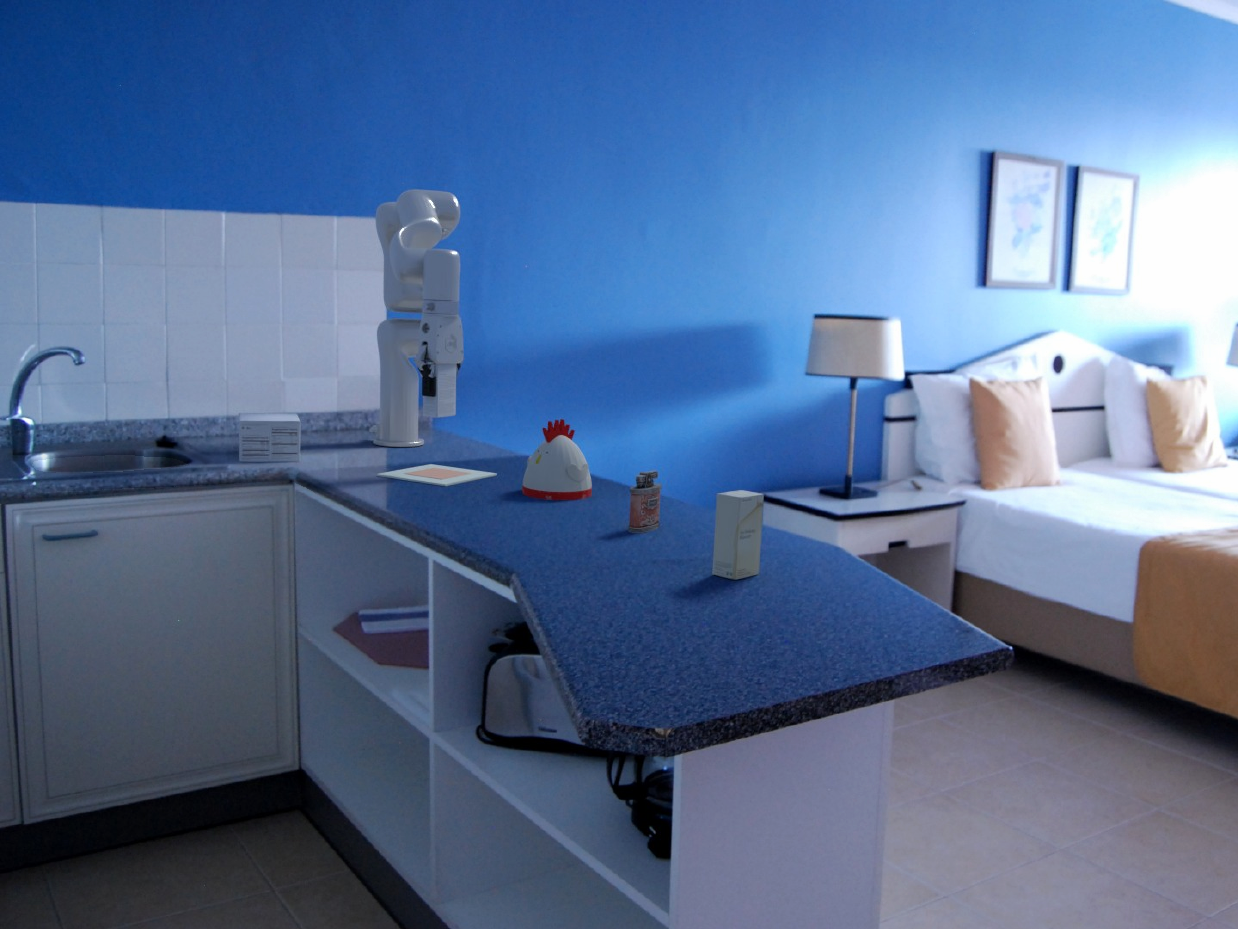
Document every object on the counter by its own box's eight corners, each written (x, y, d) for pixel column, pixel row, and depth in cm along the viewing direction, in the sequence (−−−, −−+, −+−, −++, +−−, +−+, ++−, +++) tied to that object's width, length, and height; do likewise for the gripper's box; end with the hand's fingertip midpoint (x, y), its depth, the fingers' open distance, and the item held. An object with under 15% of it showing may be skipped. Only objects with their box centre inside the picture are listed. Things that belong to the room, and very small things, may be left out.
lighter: (640, 534, 181) (643, 475, 180) (623, 531, 183) (626, 473, 182) (663, 526, 188) (666, 470, 187) (647, 523, 190) (650, 468, 188)
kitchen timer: (508, 491, 214) (510, 417, 212) (557, 485, 224) (560, 414, 222) (556, 503, 205) (558, 425, 203) (605, 495, 215) (608, 421, 213)
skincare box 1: (441, 414, 230) (442, 358, 229) (456, 416, 228) (457, 359, 226) (421, 416, 225) (422, 359, 224) (436, 418, 223) (437, 360, 221)
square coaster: (376, 475, 225) (376, 473, 225) (430, 465, 241) (430, 463, 241) (445, 486, 217) (445, 483, 217) (496, 475, 232) (496, 473, 232)
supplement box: (301, 462, 239) (301, 420, 238) (238, 463, 235) (238, 420, 233) (297, 451, 255) (297, 412, 253) (239, 451, 250) (238, 411, 249)
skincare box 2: (735, 581, 154) (740, 497, 152) (710, 574, 156) (715, 493, 155) (760, 574, 158) (765, 493, 156) (735, 568, 161) (740, 488, 159)
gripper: (428, 309, 214) (427, 399, 217) (479, 310, 229) (477, 394, 232) (399, 307, 218) (398, 396, 220) (451, 308, 233) (450, 391, 235)
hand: (439, 394), depth 226 cm, fingers closed on skincare box 1, 6 cm apart
